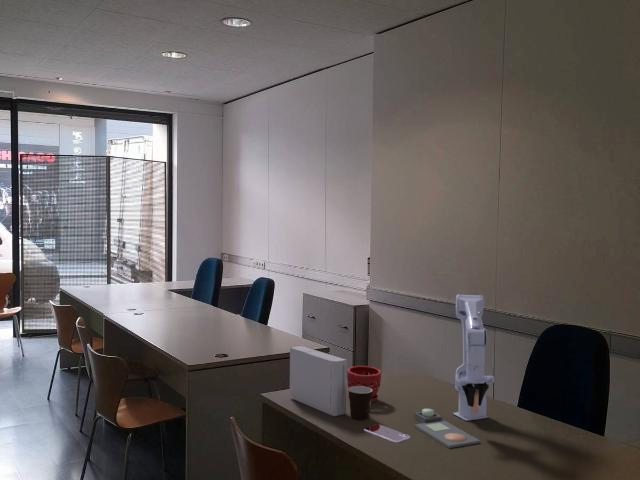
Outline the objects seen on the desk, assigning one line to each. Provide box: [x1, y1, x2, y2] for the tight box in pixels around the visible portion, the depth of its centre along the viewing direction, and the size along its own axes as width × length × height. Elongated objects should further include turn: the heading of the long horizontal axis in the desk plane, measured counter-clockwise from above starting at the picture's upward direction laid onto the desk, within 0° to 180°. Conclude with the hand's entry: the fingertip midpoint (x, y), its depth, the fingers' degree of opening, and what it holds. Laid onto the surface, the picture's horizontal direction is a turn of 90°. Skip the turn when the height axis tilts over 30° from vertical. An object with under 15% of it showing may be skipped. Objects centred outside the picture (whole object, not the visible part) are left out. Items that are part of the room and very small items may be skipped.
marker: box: [470, 389, 479, 412], centre depth 205 cm, size 3×3×7 cm
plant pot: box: [346, 365, 382, 404], centre depth 238 cm, size 13×13×12 cm
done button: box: [421, 408, 435, 418], centre depth 217 cm, size 4×4×2 cm
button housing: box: [413, 411, 443, 424], centre depth 217 cm, size 7×7×2 cm
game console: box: [289, 345, 348, 417], centre depth 231 cm, size 6×27×20 cm, turn 39°
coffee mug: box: [347, 386, 373, 421], centre depth 220 cm, size 12×9×10 cm
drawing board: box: [414, 419, 481, 449], centre depth 204 cm, size 12×20×1 cm, turn 23°
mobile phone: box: [363, 423, 411, 443], centre depth 204 cm, size 8×1×15 cm
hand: (474, 405), depth 205 cm, fingers closed on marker, 3 cm apart
